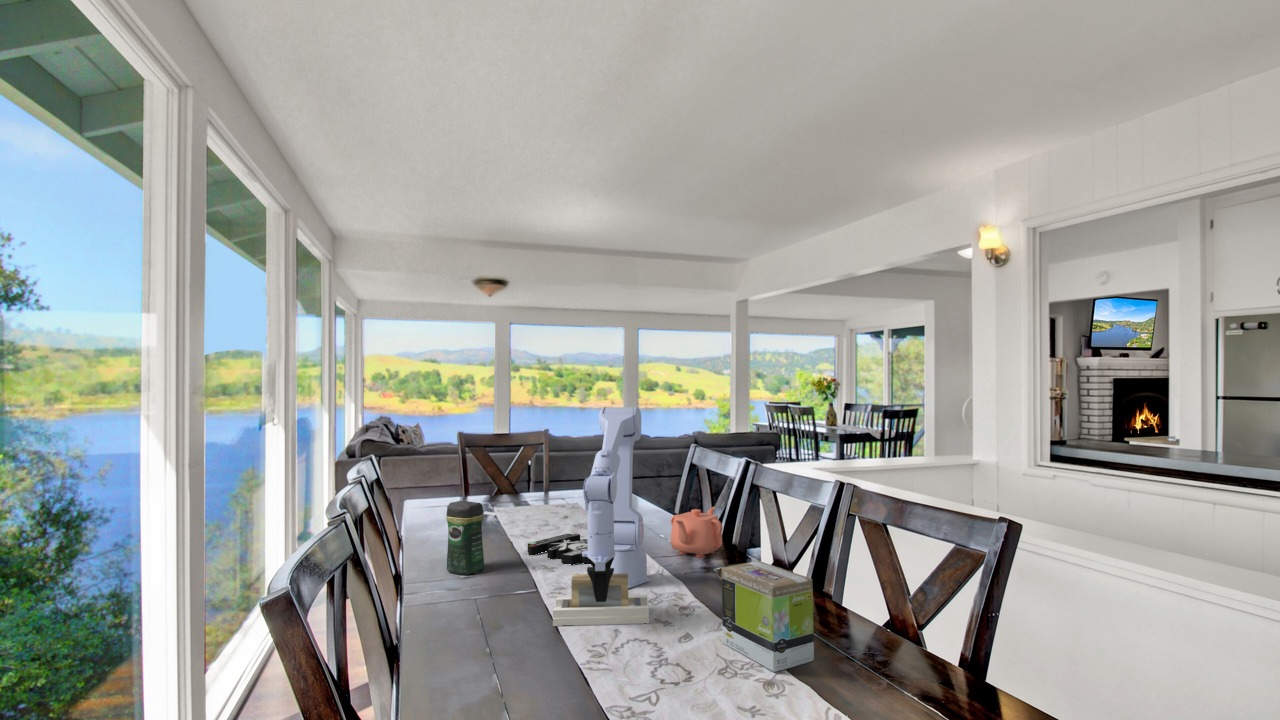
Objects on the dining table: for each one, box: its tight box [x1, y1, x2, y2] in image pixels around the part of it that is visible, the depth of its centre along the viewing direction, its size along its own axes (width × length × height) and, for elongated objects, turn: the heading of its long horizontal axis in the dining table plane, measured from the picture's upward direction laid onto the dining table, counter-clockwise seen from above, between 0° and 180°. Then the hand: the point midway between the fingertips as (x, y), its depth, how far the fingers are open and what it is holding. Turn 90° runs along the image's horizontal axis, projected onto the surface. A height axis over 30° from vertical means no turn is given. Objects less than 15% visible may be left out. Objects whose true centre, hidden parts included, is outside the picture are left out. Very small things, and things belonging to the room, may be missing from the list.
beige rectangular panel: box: [571, 573, 629, 608], centre depth 137 cm, size 4×12×7 cm, turn 92°
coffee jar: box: [446, 500, 485, 575], centre depth 172 cm, size 10×8×19 cm
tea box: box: [721, 560, 815, 673], centre depth 118 cm, size 15×10×15 cm
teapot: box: [670, 506, 724, 559], centre depth 186 cm, size 15×17×13 cm
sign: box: [527, 533, 591, 566], centre depth 185 cm, size 19×3×30 cm
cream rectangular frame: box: [552, 594, 650, 627], centre depth 137 cm, size 20×9×3 cm, turn 92°
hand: (601, 595), depth 137 cm, fingers open, 7 cm apart
